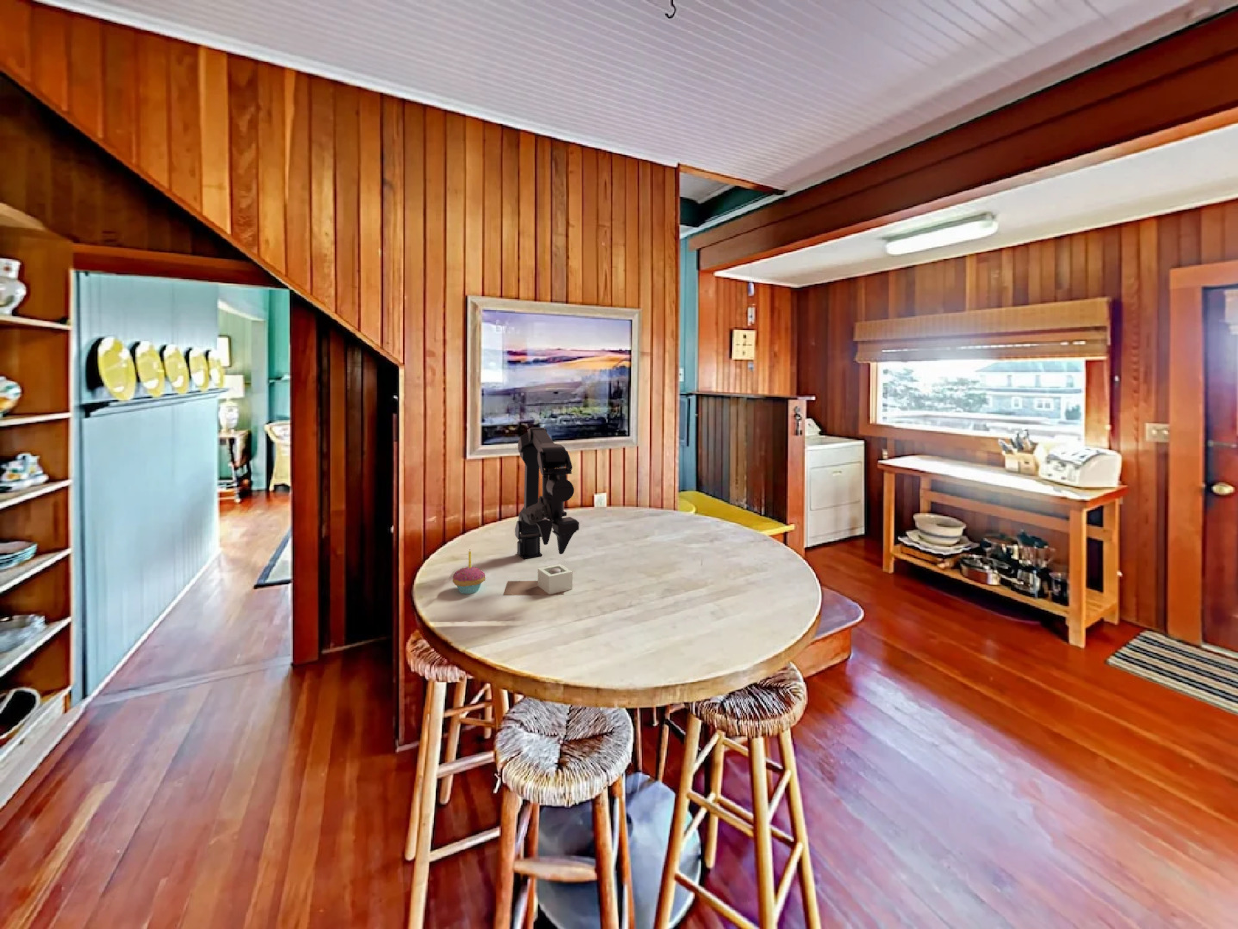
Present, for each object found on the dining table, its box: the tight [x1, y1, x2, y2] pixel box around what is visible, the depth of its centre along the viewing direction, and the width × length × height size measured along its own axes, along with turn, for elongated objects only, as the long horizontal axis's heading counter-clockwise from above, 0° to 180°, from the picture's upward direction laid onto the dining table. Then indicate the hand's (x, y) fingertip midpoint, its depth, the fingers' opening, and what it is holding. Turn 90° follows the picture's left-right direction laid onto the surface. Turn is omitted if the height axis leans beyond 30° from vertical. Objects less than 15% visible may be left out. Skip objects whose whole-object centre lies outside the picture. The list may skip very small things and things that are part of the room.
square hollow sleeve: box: [537, 563, 573, 594], centre depth 154 cm, size 7×7×5 cm
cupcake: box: [452, 550, 486, 594], centre depth 151 cm, size 9×8×12 cm
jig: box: [502, 568, 565, 596], centre depth 153 cm, size 16×10×6 cm, turn 94°
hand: (553, 549), depth 153 cm, fingers open, 9 cm apart
